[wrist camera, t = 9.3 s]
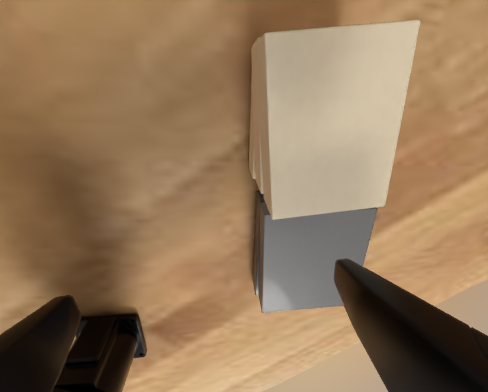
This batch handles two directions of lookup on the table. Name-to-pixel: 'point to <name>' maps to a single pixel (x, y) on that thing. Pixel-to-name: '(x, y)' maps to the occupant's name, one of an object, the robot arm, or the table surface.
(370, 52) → the cream rectangular block
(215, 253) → the table surface
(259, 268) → the grey books
